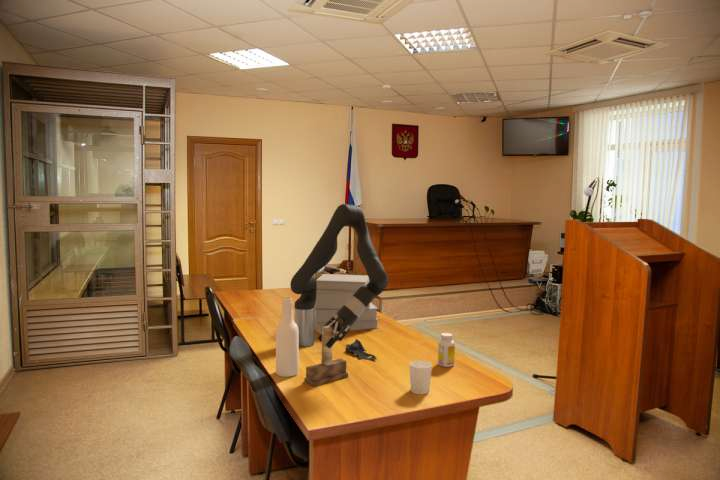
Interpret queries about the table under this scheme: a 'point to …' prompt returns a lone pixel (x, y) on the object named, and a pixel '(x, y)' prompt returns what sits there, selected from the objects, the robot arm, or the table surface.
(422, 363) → the white cup
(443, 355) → the supplement bottle
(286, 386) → the table surface
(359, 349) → the decorative bat
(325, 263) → the robot arm
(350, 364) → the table surface
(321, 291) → the book stack
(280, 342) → the alcohol
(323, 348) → the dowel
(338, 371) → the brown block
